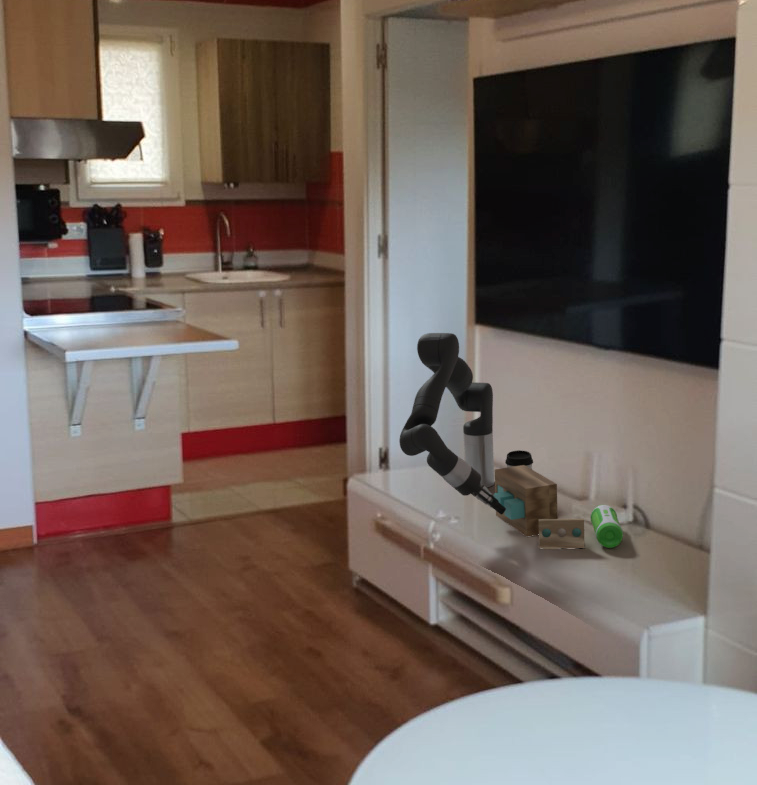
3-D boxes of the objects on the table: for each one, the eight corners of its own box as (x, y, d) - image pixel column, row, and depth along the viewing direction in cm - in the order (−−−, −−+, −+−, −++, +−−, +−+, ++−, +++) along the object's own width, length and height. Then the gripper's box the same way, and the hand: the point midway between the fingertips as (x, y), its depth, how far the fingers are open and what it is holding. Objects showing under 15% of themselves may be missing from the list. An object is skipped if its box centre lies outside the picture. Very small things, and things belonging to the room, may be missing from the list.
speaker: (624, 550, 310) (624, 523, 309) (596, 550, 311) (596, 523, 309) (616, 527, 328) (616, 502, 326) (590, 528, 328) (589, 503, 327)
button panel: (526, 537, 324) (525, 488, 321) (496, 515, 343) (494, 469, 340) (557, 531, 326) (556, 483, 323) (525, 510, 346) (524, 465, 343)
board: (539, 542, 319) (538, 515, 317) (583, 542, 317) (583, 514, 315) (539, 549, 314) (538, 521, 312) (584, 548, 312) (584, 520, 311)
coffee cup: (533, 496, 358) (532, 449, 355) (534, 505, 350) (533, 457, 346) (506, 497, 359) (504, 450, 356) (506, 506, 351) (505, 458, 347)
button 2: (511, 519, 322) (510, 504, 321) (504, 515, 327) (504, 500, 326) (530, 516, 324) (530, 501, 323) (524, 511, 328) (523, 497, 327)
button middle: (500, 512, 329) (500, 497, 328) (494, 508, 333) (493, 493, 332) (520, 509, 331) (519, 494, 330) (513, 504, 335) (513, 490, 334)
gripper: (478, 470, 311) (521, 507, 318) (459, 458, 324) (501, 494, 330) (460, 492, 311) (504, 529, 317) (442, 479, 323) (485, 514, 330)
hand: (502, 511), depth 324 cm, fingers closed
